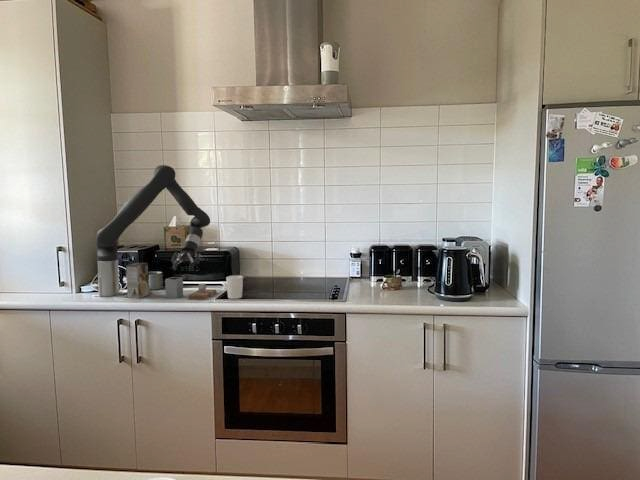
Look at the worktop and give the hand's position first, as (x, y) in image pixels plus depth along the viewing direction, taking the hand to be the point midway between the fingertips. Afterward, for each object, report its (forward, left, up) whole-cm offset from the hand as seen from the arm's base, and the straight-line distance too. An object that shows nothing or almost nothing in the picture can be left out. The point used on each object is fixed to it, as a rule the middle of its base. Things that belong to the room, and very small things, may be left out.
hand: (181, 269), depth 226 cm
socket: (-5, -6, -12) cm, 14 cm away
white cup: (+20, -22, -12) cm, 32 cm away
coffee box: (-20, +4, -12) cm, 24 cm away
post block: (+7, -12, -12) cm, 18 cm away
